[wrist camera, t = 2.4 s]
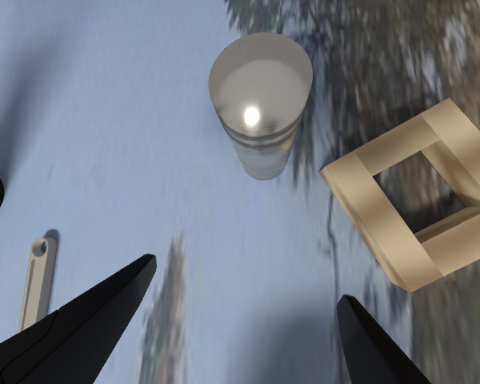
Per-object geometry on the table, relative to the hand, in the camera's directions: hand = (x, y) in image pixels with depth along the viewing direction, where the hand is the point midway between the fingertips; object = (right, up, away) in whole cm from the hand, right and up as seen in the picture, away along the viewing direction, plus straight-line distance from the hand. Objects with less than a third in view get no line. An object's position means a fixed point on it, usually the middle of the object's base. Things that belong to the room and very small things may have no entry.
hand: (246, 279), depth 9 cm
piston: (+3, +8, +13) cm, 16 cm away
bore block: (+17, +4, +10) cm, 21 cm away
